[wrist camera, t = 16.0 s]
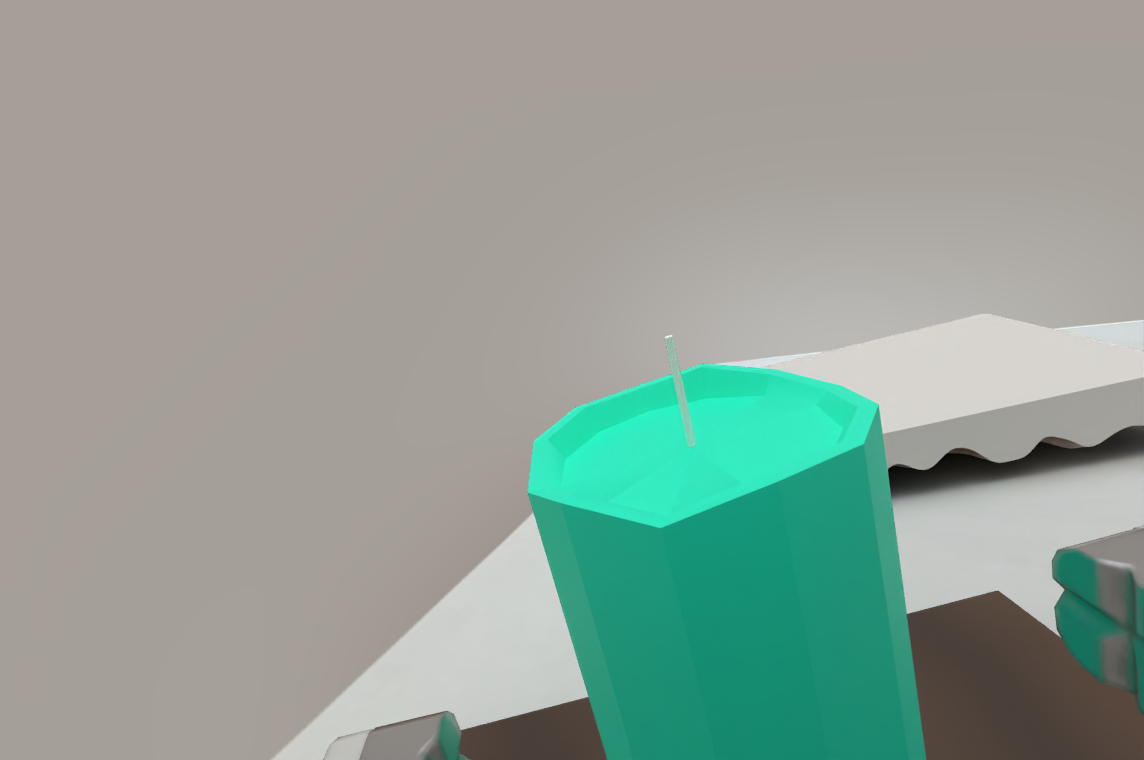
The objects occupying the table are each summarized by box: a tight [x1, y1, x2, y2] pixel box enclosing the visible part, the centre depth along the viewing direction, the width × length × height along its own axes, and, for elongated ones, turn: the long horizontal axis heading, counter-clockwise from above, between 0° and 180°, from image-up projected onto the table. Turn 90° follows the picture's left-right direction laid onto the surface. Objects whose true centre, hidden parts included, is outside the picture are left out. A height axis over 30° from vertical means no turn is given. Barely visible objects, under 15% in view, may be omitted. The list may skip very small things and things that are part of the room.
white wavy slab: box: [761, 313, 1144, 470], centre depth 33 cm, size 15×3×20 cm
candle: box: [528, 335, 926, 760], centre depth 11 cm, size 6×6×12 cm
